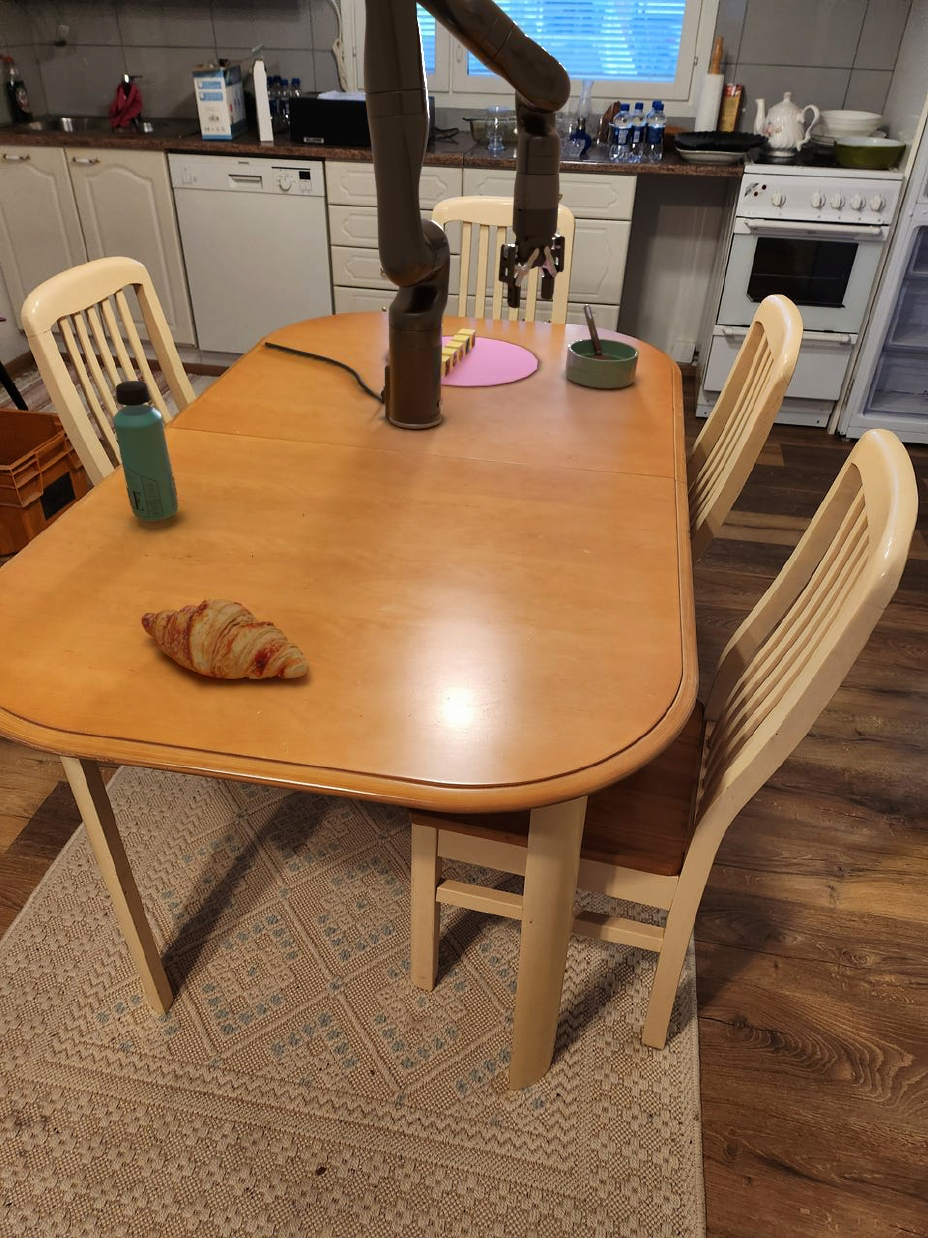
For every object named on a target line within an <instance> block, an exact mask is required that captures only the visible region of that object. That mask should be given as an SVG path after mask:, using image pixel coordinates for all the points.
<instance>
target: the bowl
mask: <svg viewBox="0 0 928 1238" xmlns="http://www.w3.org/2000/svg"><path fill="white" fill-rule="evenodd" d="M599 341H600V345H601V349H602V353H603V354H602V356H605V355H610V359H611V360H598V359H592V358H591V356H596V355H595V351H594V348H593V344H592V340H591V338H583V339H578V340H574V341H573V342H571V343H569V344H568V346H567V351H566V352H567V353H566V360H565V361H566V362H565V372H564V373H565V376H566V378H568V379H569V380H570V381H572V382H575V383H577V384H579V385H581V386H585V387H588V388H589V387H590V388H593V389H616V388H622V387H626V386H629V385H631V384H633V383H634V382H635V380H636V376H637V375H636V374H637V370H638V362H639V356H640V352H639V350H638V348H636V347H635V346H633V345H632V344H629V343H626V342H623V341H619V340H614V339H607V338H599Z"/></svg>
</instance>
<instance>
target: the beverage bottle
mask: <svg viewBox="0 0 928 1238" xmlns="http://www.w3.org/2000/svg"><path fill="white" fill-rule="evenodd" d="M115 394H116V403H117V404H119V405H121V406H123V407H120V409H119V410H118V411H117V412H116V413H115V414H114V416H113V418H112V424H113V425H114V426H113V427H114V431H115V435H116V439H117V445H118V449H119V451H117V452H118V454H119V455H118V456H119V458H120V460H121V464H122V469H123V475H124V478H123V479H124V482H125V484H126V486H125V488H126V492H127V498H128V503H129V505H130V510H131V512H132V513H133V515H134V516H135V517H136V519H139V520H141V521H144V522H158V521H163V520H167V519H169V518H172V517H174V515H176V514H177V512H178V510H179V506H180V504H179V503H180V502H179V498H178V491H177V486H176V481H175V477H174V476H175V474H174V472H173V466H172V462H171V457H170V454H169V450H168V444H167V438H166V433H165V429H164V427H165V426H164V422H163V414H162V413H161V412H160V411H159V410H157V409H156V408H155V407H153V406H152V405H150V404H147V403H148V402H150V401H151V395H150V393H149V389H148V385H147V383H146V382H144V381H140V380H127V381H123V382H119V383H118V384H117V385H116V386H115Z"/></svg>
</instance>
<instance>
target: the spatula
mask: <svg viewBox="0 0 928 1238" xmlns="http://www.w3.org/2000/svg"><path fill="white" fill-rule="evenodd" d="M582 309H583V313H584V317H585V322H586V324H587V328H588V332H589V336H590V339H591V340H592V344H593V348H594V351H595V355H596V356H591V358H592V359H598V360H611V359H610V355H605V356H602V354H603V353H602V349H601V345H600V341H599V339H600V338H599V333H598V329H597V327H596V323H595V322H596V321H595V319H594V316H593V312H592V308H591V306H590V304H584V305H583V308H582Z"/></svg>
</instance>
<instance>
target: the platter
mask: <svg viewBox="0 0 928 1238" xmlns="http://www.w3.org/2000/svg"><path fill="white" fill-rule="evenodd" d="M387 358H388V359H389V356H388V357H387ZM538 363H539V361H538V359H537V358H536V356H535V355H534V354H533V353H532V352H530V351H528V350H527V349H525V348H523V347H521V346H518V345H515V344H513V343H509V342H507V341H503V340H497V339H493V338H492V339H491V338H487V337H479V336H477V330H476V329H470V328H461V329H460V330H459V331H458V332H457V334H454V336H453V335H451V336H450V335H449V336H442V379H441V386H453V387H491V386H498V385H504V384H510V383H514V382H517V381H520V380H523V379H525V378H527V377H529V376H531V375H532V374H533V373H534V372H535V371H537V369H538Z"/></svg>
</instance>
